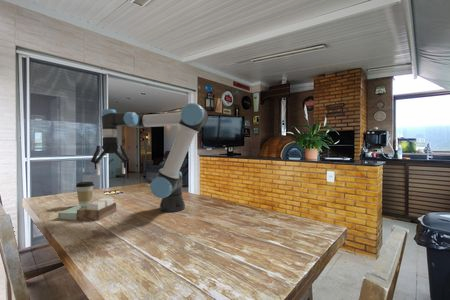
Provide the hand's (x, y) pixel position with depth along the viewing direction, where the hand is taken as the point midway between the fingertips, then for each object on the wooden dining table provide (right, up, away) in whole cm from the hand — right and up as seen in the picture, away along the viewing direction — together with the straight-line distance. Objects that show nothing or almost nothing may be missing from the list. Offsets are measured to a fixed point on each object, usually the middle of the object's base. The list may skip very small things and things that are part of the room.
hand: (111, 174), depth 129 cm
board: (-6, -22, -3) cm, 23 cm away
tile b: (-4, -18, -7) cm, 19 cm away
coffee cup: (-24, -22, +16) cm, 37 cm away
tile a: (-4, -17, +1) cm, 18 cm away
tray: (-17, -22, -2) cm, 28 cm away
